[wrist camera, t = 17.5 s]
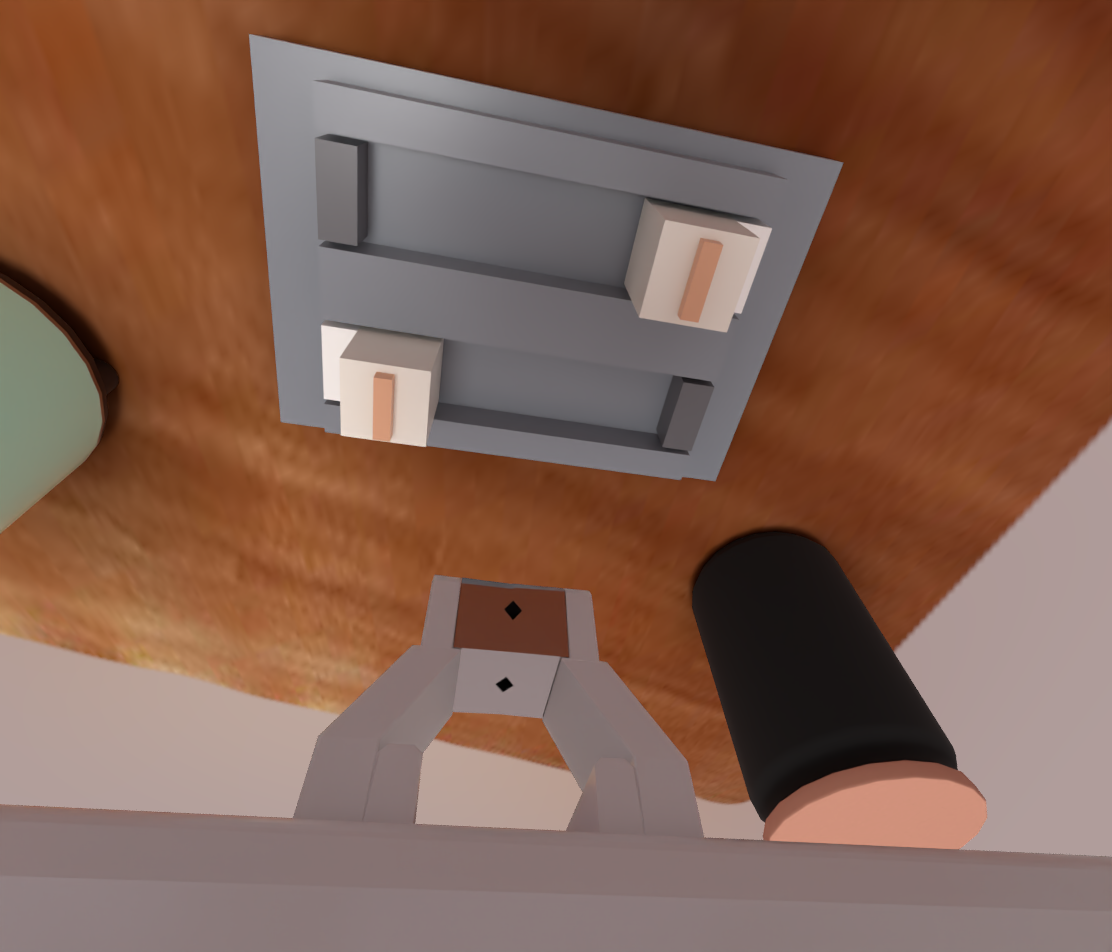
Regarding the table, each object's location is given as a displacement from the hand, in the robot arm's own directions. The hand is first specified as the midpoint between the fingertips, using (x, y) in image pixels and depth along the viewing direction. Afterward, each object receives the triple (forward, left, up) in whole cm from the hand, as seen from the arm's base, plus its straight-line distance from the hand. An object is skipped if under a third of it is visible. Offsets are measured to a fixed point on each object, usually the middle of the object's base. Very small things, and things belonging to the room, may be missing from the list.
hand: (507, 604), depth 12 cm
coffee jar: (+19, +21, -24) cm, 37 cm away
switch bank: (+1, +1, -24) cm, 24 cm away
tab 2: (-3, +7, -22) cm, 23 cm away
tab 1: (+5, -5, -22) cm, 23 cm away
